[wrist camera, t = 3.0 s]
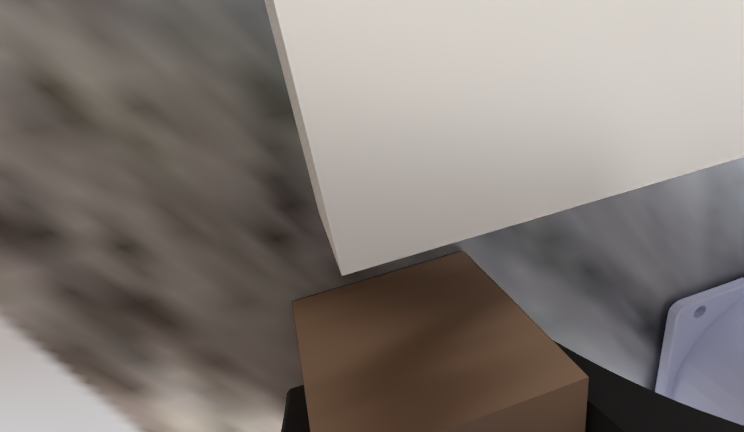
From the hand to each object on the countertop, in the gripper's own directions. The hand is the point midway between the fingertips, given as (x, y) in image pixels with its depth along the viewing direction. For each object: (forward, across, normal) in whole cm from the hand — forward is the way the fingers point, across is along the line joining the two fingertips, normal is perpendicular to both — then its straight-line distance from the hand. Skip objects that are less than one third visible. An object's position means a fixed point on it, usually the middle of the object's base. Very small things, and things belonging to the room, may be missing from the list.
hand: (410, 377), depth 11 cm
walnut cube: (+1, 0, 0) cm, 1 cm away
